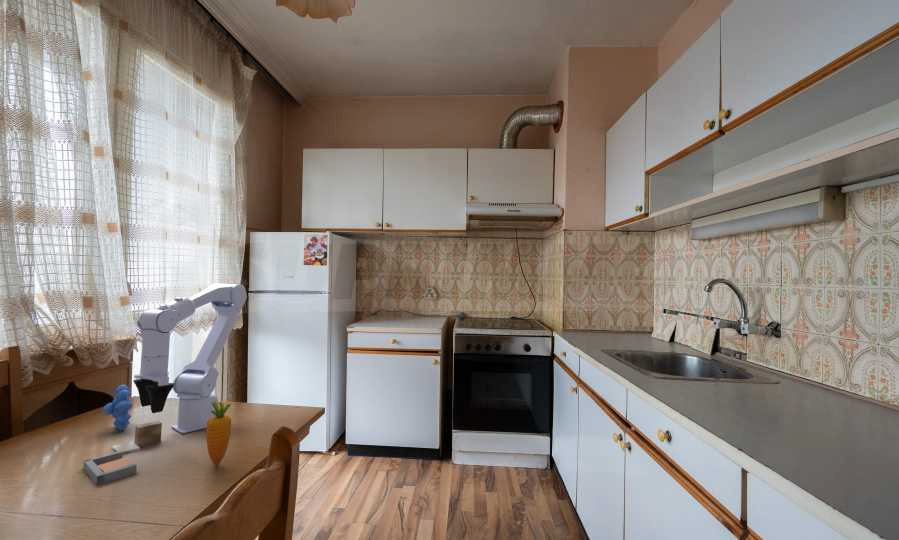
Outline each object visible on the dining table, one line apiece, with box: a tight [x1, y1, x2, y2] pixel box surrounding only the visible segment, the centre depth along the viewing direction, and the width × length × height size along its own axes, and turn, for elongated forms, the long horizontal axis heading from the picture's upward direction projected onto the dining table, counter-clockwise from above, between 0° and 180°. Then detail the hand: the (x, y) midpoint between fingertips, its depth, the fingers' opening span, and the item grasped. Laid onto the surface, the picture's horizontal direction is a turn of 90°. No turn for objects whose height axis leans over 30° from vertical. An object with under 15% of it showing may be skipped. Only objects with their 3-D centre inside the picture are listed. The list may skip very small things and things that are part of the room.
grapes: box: [101, 384, 134, 431], centre depth 109 cm, size 12×7×12 cm, turn 46°
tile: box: [98, 457, 134, 473], centre depth 87 cm, size 5×5×2 cm
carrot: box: [205, 401, 232, 467], centre depth 90 cm, size 5×5×15 cm
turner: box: [111, 420, 163, 455], centre depth 99 cm, size 9×6×5 cm, turn 144°
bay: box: [82, 451, 138, 486], centre depth 86 cm, size 7×11×2 cm, turn 54°
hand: (151, 408), depth 99 cm, fingers open, 7 cm apart
